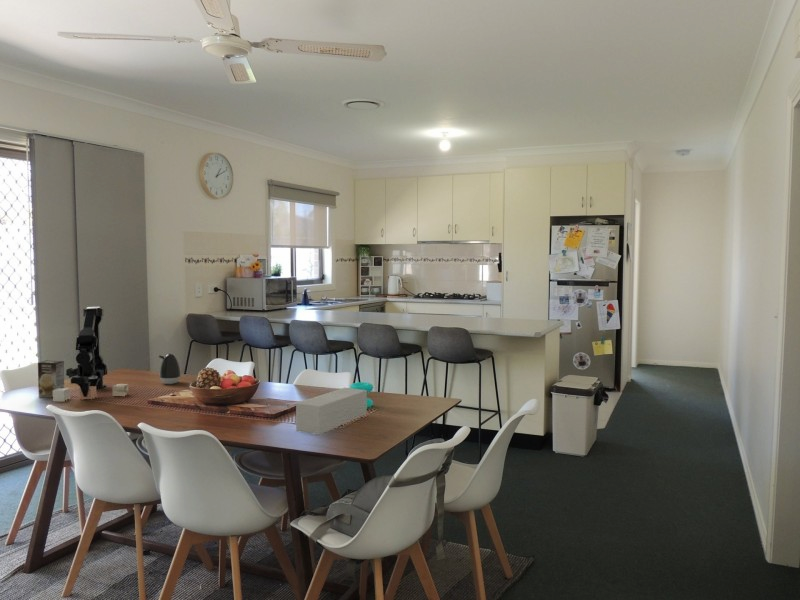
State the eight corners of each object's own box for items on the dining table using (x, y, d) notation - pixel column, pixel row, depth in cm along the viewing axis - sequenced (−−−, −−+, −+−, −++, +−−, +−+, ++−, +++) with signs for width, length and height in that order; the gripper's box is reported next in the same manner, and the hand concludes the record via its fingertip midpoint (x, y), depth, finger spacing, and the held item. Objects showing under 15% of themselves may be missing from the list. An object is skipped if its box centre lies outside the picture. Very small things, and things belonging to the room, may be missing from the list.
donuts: (361, 380, 278) (377, 383, 272) (361, 403, 279) (377, 406, 272) (344, 384, 271) (361, 387, 264) (344, 407, 272) (361, 410, 265)
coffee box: (37, 397, 288) (36, 362, 287) (46, 394, 295) (45, 360, 294) (56, 397, 288) (55, 362, 286) (65, 394, 294) (64, 360, 293)
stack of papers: (319, 435, 229) (319, 406, 228) (296, 431, 234) (296, 402, 233) (366, 416, 257) (366, 390, 256) (344, 413, 262) (344, 387, 261)
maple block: (117, 394, 295) (117, 383, 295) (128, 394, 295) (128, 384, 295) (112, 396, 290) (112, 386, 290) (123, 397, 290) (123, 386, 290)
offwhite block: (59, 399, 286) (58, 388, 285) (70, 399, 286) (69, 388, 285) (52, 401, 281) (52, 390, 280) (64, 401, 281) (63, 390, 280)
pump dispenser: (162, 381, 326) (161, 352, 325) (183, 381, 327) (182, 352, 326) (156, 385, 316) (156, 355, 315) (178, 385, 317) (177, 355, 316)
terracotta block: (85, 397, 289) (85, 386, 289) (96, 397, 289) (96, 386, 289) (80, 399, 284) (79, 388, 284) (91, 399, 284) (90, 388, 284)
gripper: (80, 358, 295) (81, 391, 296) (58, 364, 277) (59, 400, 278) (103, 358, 295) (104, 391, 296) (83, 364, 276) (84, 400, 277)
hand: (88, 395), depth 287 cm, fingers closed on terracotta block, 5 cm apart
